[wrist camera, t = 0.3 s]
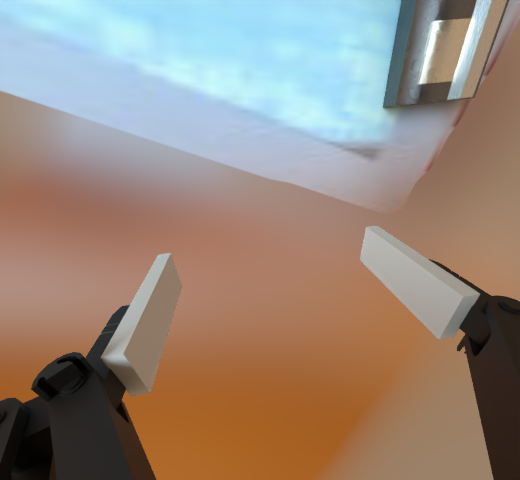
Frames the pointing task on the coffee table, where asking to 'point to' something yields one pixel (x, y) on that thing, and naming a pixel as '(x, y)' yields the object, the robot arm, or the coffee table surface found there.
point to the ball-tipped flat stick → (476, 47)
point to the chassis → (428, 50)
